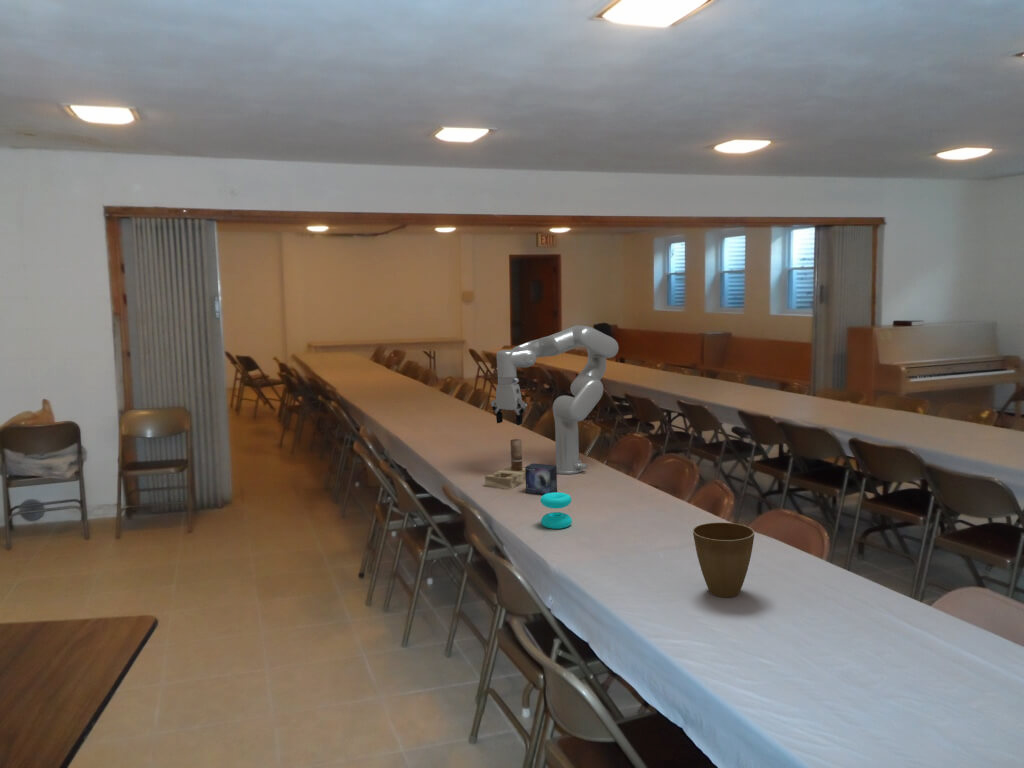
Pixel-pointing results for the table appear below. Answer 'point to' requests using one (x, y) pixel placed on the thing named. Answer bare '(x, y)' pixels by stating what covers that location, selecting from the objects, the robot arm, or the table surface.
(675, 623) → the table surface
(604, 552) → the table surface
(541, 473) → the small box
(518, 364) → the robot arm
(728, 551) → the plant pot
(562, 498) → the donuts
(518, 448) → the peg
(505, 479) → the board
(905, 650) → the table surface
